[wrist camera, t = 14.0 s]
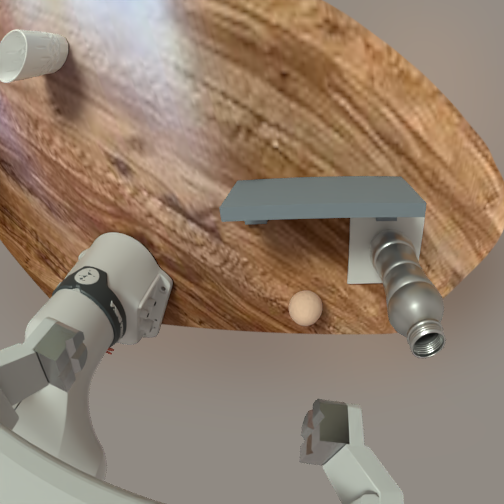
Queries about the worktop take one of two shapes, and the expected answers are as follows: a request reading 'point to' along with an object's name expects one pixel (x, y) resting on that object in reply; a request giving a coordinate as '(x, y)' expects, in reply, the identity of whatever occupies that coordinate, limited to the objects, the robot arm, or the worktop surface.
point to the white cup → (31, 54)
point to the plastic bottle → (408, 293)
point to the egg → (305, 307)
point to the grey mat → (363, 236)
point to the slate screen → (321, 199)
